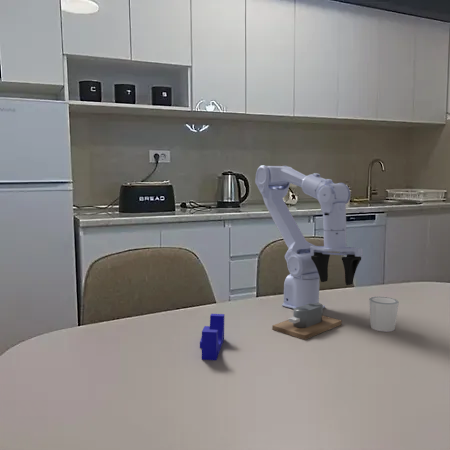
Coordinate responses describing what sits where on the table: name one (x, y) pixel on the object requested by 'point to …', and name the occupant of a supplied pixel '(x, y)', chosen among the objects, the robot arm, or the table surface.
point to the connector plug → (307, 315)
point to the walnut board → (309, 331)
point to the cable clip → (212, 337)
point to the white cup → (383, 313)
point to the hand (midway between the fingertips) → (336, 282)
